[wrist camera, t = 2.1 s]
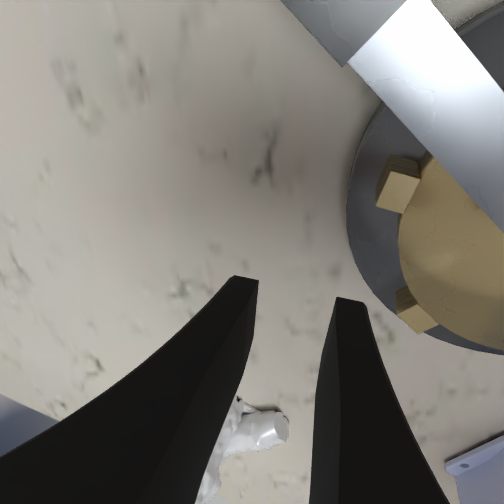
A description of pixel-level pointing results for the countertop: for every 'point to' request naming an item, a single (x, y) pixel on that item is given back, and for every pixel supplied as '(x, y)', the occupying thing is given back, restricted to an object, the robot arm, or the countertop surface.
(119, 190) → the countertop surface
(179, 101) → the countertop surface
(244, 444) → the seated beast figurine
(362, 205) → the disc
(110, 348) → the countertop surface
